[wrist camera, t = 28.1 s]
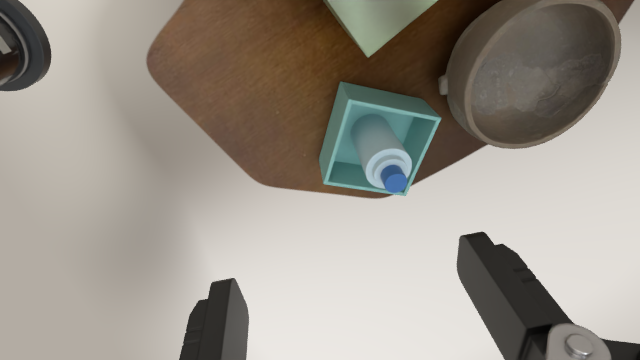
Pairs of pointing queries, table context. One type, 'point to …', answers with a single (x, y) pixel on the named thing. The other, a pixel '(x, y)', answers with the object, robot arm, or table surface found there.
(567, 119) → the bowl
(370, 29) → the stand
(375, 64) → the table surface
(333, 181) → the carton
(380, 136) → the bottle
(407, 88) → the table surface
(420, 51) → the table surface
